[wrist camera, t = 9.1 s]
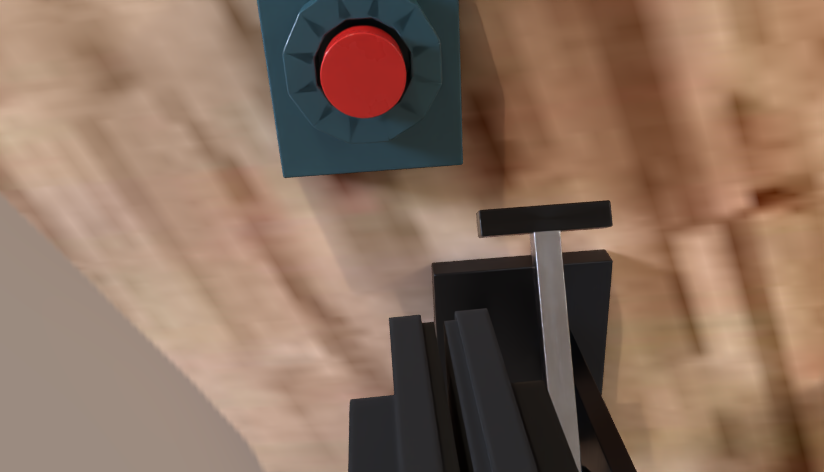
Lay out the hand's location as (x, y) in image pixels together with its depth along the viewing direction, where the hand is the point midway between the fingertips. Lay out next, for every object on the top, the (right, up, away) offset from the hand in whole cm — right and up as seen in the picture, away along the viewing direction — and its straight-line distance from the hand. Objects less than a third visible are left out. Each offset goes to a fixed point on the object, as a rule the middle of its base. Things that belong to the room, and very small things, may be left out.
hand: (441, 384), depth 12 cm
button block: (-3, +11, +19) cm, 22 cm away
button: (-2, +9, +15) cm, 18 cm away
